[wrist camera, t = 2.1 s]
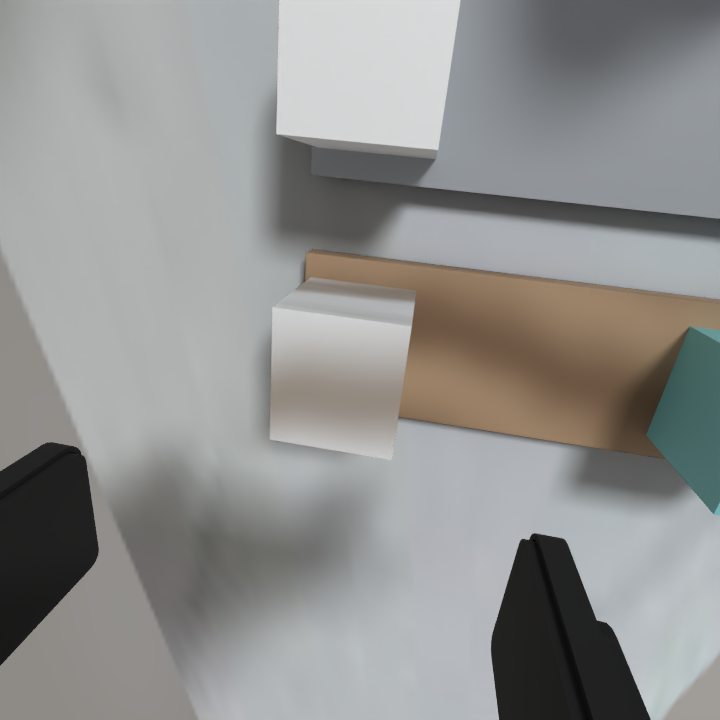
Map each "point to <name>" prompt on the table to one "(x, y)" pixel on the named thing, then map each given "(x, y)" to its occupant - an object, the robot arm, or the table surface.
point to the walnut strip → (470, 355)
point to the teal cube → (693, 416)
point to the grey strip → (510, 97)
